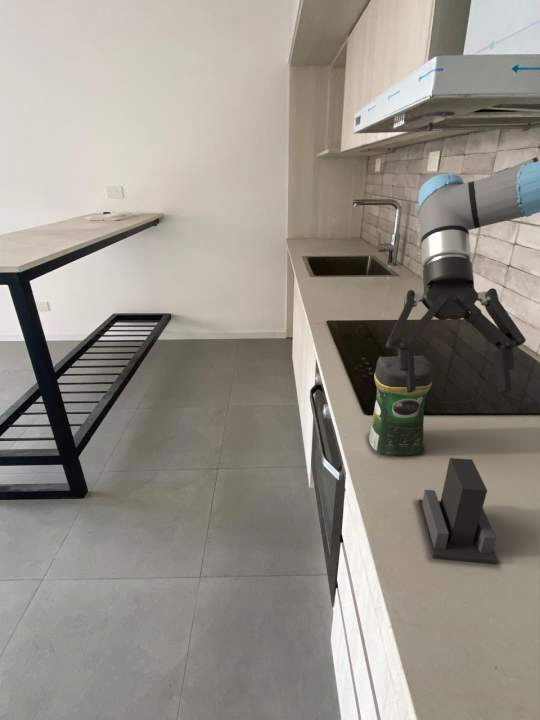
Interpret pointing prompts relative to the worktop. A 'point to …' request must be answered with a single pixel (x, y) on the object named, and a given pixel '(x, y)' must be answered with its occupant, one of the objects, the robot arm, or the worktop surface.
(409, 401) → the coffee jar
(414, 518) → the worktop surface
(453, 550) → the base pad
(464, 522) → the dark gray block
